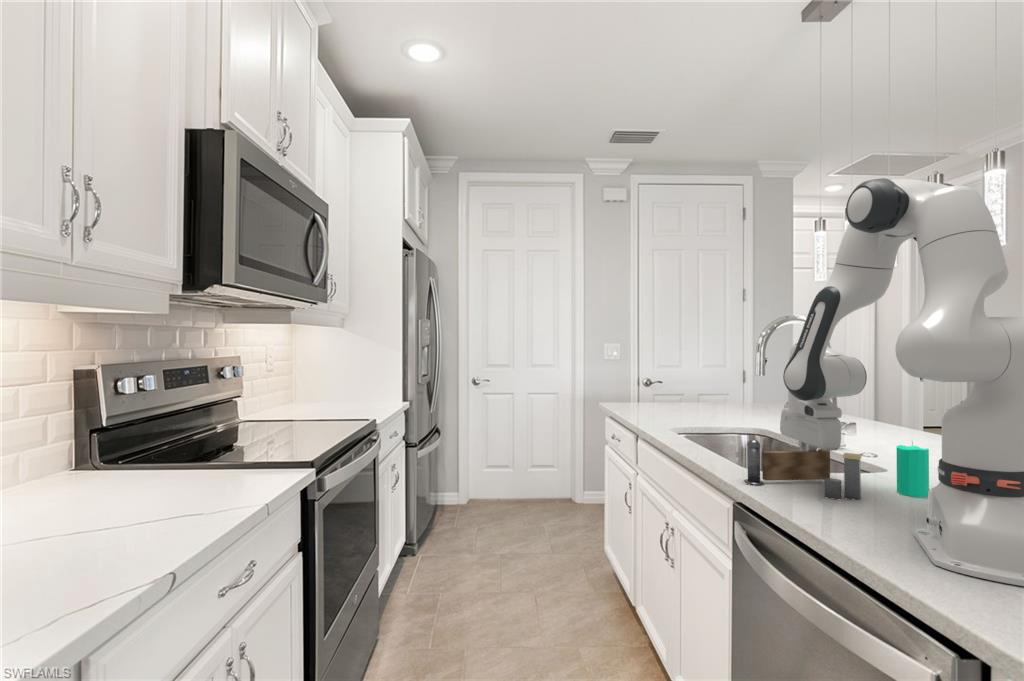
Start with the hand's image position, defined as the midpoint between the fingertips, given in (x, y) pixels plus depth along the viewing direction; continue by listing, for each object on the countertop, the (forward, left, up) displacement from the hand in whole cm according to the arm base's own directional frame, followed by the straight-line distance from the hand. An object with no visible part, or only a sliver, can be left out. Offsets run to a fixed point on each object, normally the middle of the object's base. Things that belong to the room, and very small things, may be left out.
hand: (807, 460), depth 133 cm
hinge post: (-11, +10, -5) cm, 16 cm away
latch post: (-12, -9, -5) cm, 16 cm away
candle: (+1, -21, -5) cm, 22 cm away
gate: (-5, +2, -4) cm, 6 cm away
